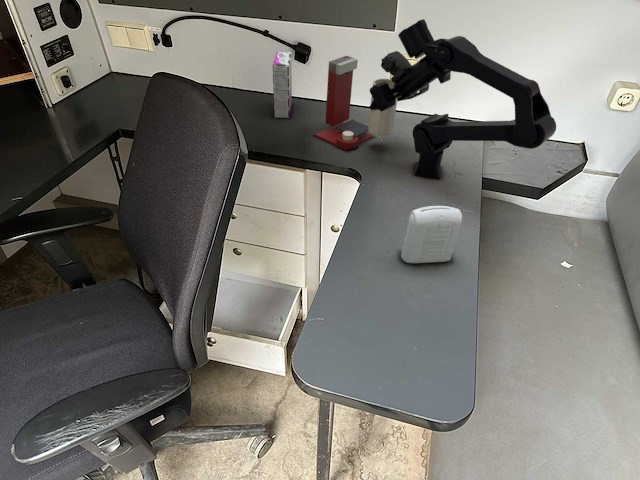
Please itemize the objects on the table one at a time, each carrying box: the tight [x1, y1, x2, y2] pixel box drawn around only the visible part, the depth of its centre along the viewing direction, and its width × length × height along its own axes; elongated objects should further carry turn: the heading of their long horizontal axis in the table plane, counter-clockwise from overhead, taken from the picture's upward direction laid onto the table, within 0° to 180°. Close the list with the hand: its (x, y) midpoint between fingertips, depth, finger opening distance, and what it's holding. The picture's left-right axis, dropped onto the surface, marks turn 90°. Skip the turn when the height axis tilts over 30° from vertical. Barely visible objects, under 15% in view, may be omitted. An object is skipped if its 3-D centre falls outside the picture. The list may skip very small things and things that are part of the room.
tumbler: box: [367, 77, 398, 137], centre depth 124 cm, size 7×7×13 cm
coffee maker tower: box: [325, 55, 369, 137], centre depth 130 cm, size 12×7×18 cm, turn 48°
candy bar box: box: [272, 51, 293, 119], centre depth 143 cm, size 11×5×16 cm, turn 179°
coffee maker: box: [314, 122, 374, 152], centre depth 135 cm, size 13×13×2 cm
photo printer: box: [400, 205, 463, 264], centre depth 93 cm, size 10×4×12 cm, turn 98°
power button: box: [342, 131, 353, 141], centre depth 130 cm, size 3×3×2 cm
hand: (379, 104), depth 125 cm, fingers closed on tumbler, 7 cm apart
